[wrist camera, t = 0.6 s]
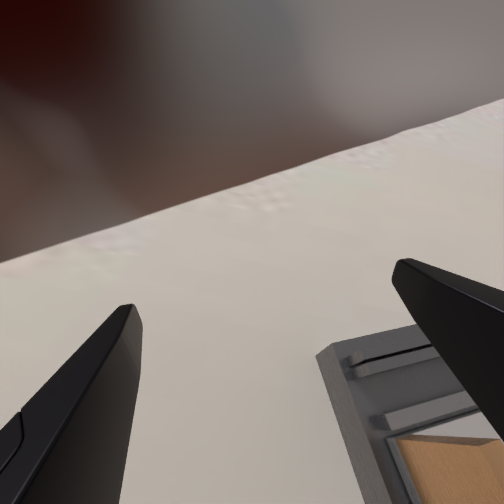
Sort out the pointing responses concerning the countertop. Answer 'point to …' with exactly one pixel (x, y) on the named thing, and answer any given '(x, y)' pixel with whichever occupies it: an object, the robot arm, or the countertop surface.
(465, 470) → the grey wood-ended block
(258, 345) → the countertop surface
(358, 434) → the grey rimmed tray
